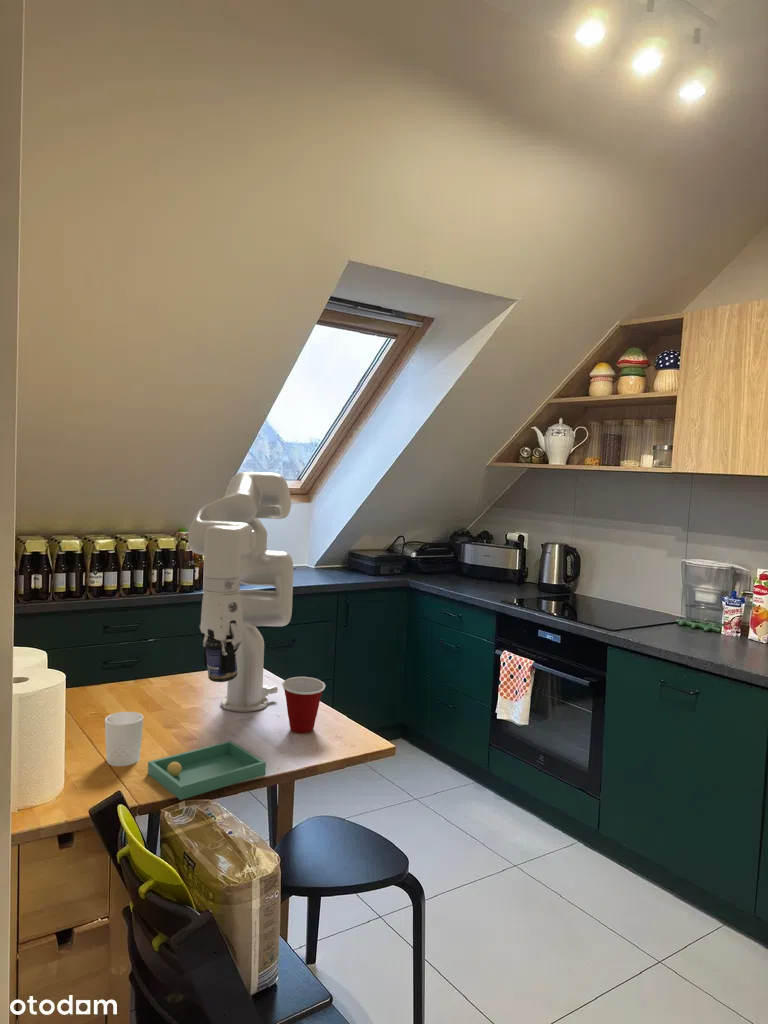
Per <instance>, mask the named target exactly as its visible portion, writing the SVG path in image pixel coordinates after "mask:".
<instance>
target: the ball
mask: <svg viewBox="0 0 768 1024" xmlns="http://www.w3.org/2000/svg"><path fill="white" fill-rule="evenodd" d="M181 771H182V767H181V765H180V763H178V762H172V763H170V764H169V765H168V767H167V773H168V774H170V775H171V776H172V777H176V776H178V775H179V774H180V773H181Z"/></svg>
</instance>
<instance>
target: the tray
mask: <svg viewBox="0 0 768 1024" xmlns="http://www.w3.org/2000/svg"><path fill="white" fill-rule="evenodd" d="M172 762H178V763H180V765H181V767H182V771H181V773H180V774H179V775H178V776H176V777H172V776H171V775H170V774H168V773H167V767H168V765H169V764H170V763H172ZM266 763H267V762H266V761H265V760H263V759H262V758H259V756H256V755H254V754H253V753H251V752H250V751H248V750H247V749H245V748H243V747H242V746H241V745H238V744H237V743H235V742H234V741H232V740H228V741H224V742H220V743H216V744H212V745H208V746H204V747H201V748H196V749H192V750H189V751H184V752H181V753H176V754H172V755H169V756H165V757H160V758H158V759H153V760H150V761H149V760H148V761H147V775H149V776H150V777H151V778H152V779H153V780H155V781H156V782H157V783H158V784H159V785H161V786H162V787H163V788H165V789H166V790H167V791H168V792H169V793H171V794H172V795H173V796H175V798H177V799H178V800H179V801H182V800H185V799H189V798H193V797H195V796H200V795H202V794H206V793H208V792H212V791H215V790H218V789H221V788H225V787H228V786H232V785H235V784H238V783H241V782H244V781H249V780H250V779H254V778H258V777H261V776H266V770H267V769H266V768H267V767H266V766H267V765H266Z"/></svg>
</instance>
